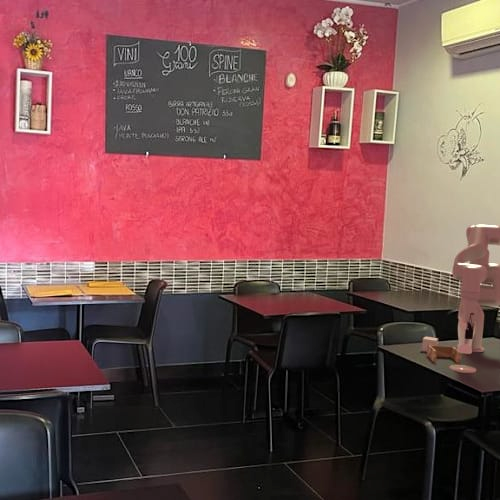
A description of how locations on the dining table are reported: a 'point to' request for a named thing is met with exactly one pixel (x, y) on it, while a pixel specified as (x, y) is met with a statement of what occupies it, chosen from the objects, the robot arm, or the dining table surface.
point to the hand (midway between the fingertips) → (465, 336)
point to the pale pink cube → (429, 342)
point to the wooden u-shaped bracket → (443, 352)
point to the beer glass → (464, 343)
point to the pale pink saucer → (462, 368)
